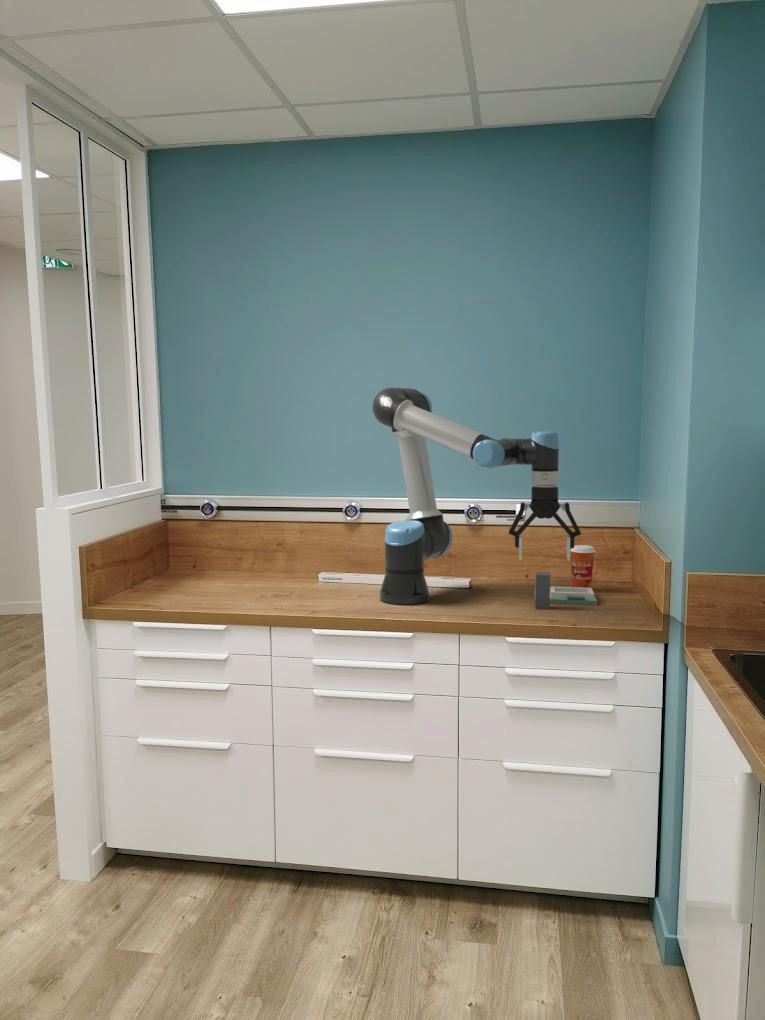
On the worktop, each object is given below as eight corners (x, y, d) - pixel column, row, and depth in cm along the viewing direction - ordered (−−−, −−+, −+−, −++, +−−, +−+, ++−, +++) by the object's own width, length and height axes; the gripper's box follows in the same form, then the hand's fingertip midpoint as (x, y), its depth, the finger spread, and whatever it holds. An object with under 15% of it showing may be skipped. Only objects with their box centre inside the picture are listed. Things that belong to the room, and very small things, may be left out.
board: (534, 602, 243) (535, 593, 243) (534, 592, 257) (534, 584, 257) (597, 604, 240) (597, 595, 240) (593, 594, 254) (593, 585, 254)
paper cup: (566, 591, 259) (567, 547, 257) (572, 586, 265) (573, 544, 264) (591, 593, 255) (592, 549, 253) (596, 589, 262) (598, 545, 260)
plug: (535, 609, 235) (536, 574, 234) (535, 605, 240) (535, 571, 239) (549, 609, 235) (550, 575, 233) (548, 605, 239) (549, 572, 238)
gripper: (500, 486, 231) (500, 560, 234) (590, 487, 227) (589, 562, 229) (501, 484, 239) (500, 556, 241) (588, 484, 234) (587, 557, 237)
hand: (544, 559), depth 235 cm, fingers open, 13 cm apart
